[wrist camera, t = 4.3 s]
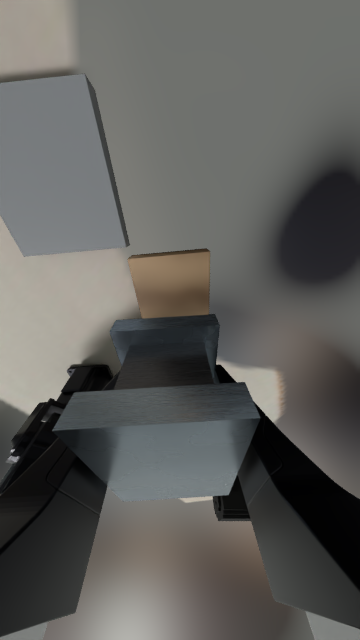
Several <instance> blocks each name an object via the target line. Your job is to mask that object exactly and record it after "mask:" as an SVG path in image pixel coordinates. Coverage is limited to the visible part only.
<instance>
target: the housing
mask: <svg viewBox="0 0 360 640" xmlns="http://www.w3.org/2000/svg"><path fill="white" fill-rule="evenodd" d="M219 326H220V325H219V322H218V320H217V318H216V315H215V314H208V315H192V316H176V317H159V318H143V319H127V320H116V321H115V323H114V325H113V327H112V328H111V330H110V335H111V338H112V340H113V343H114V346H115V349H116V352H117V354H118V357H119V360H120V363H121V366H122V368H121V371H120V373H119V376H118V379H117V382H116V385H115V387H114V390H108V391H92V392H75V393H74V394H73V396H72V397H71V399H70V401H69V402H68V404H67V406H66V408H65V409H64V411H63V413H62V414H61V416H60V418H59V420H58V421H57V423H56V425H55V427H54V428H53V430H52V431H53V432H54V433H55V434H56V435H57V436H58V437H59V438H60V439H61V440H62V441H63V442H64V443H65V444H66V445H67V446H68V447H69V448H70V449H71V450H72V451H73V452H74V453H75V454H76V455H77V456H78V457H79V458H80V459H81V460H82V461H83V462H84V463H85V464H86V465H87V466H88V467H89V468H90V469H91V470H92V471H93V472H94V473H95V474H96V475H97V476H98V477H99V478H100V479H101V480H102V481H103V482H104V483H105V484H106V485H107V486H108V487H109V488H110V489H111V490H112V491H113V492H114V493H115V494H116V495H117V496H118V497H119V498H120V499H121V500H122V501H139V500H156V499H172V498H188V497H205V496H221V495H229V493H230V490H231V488H232V486H233V483H234V481H235V478H236V476H237V473H238V471H239V469H240V466H241V464H242V461H243V459H244V457H245V454H246V452H247V449H248V447H249V445H250V442H251V440H252V437H253V435H254V433H255V430H256V428H257V425H258V423H259V421H260V416H259V413H258V411H257V409H256V407H255V404H254V402H253V400H252V397H251V395H250V393H249V391H248V388H247V386H246V384H245V382H238V383H222V384H214V375H215V369H216V359H217V348H218V338H219Z"/></svg>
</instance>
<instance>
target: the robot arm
mask: <svg viewBox="0 0 360 640" xmlns="http://www.w3.org/2000/svg"><path fill="white" fill-rule="evenodd" d="M67 373H68V374H69V375H70V378H69V380H68V381H67V383H66V384H65V386H64V387H63V389H62V390H61V392H62V393H61V395H60V396H59V398H58V399H57V401H55V400H54V399H52V398H50V399H49V400H48V402H43V403H39V404H38V405H37V407H36V408H35V409H34V411H33V412H32V413H31V415H30V416H29V417H28V419H27V420H26V421H25V423H24V424H23V426H22V427H21V428H20V430H19V431H18V432H17V434H16V435H15V436H14V438H13V439H12V440H11V443H12V450H11V451H10V453H11V455H10V456H9V457H8V459H7V461H6V462H8V463H13V464H12V465H11V467H10V468H9V470H8V471H7V473H6V474H5V476H4V477H3V479H2V480H1V482H0V640H42V639H43V636H44V633H45V630H46V626H47V623H48V622H49V621H52V620H55V619H58V618H61V617H64V616H67V615H70V614H73V613H75V612H76V608H77V605H78V601H79V597H80V593H81V589H82V585H83V581H84V577H85V573H86V569H87V565H88V561H89V557H90V553H91V549H92V545H93V542H94V538H95V534H96V529H97V526H98V522H99V518H100V513H101V509H102V505H103V501H104V498H105V494H106V490H107V485H106V484H105V483H104V482H103V481H102V480H101V479H100V478H99V477H98V476H97V475H96V474H95V473H94V472H93V471H92V470H91V469H90V468H89V467H88V466H87V465H86V464H85V463H84V462H83V461H82V460H81V459H80V458H79V457H78V456H77V455H76V454H75V453H74V452H73V451H72V450H71V449H70V448H69V447H68V446H67V445H66V444H65V443H64V442H63V441H62V440H61V439H60V438H59V437H58V436H57V435H56V434H55V433H54V432H53V431H52V430H53V428H54V427H55V425H56V423H57V421H58V420H59V418H60V416H61V414H62V413H63V411H64V409H65V408H66V406H67V404H68V402H69V401H70V399H71V397H72V396H73V394H74V393H75V392H92V391H108V390H114V387H115V385H116V382H117V379H118V376H119V373H120V371H119V372H118V373H117V374H116V375H115V377H114V378H113V376H112V374H111V372H110V369H109V367H108V366H107V365H96V366H84V367H72V368H68V370H67ZM222 383H237V382H236V381H235V380H234V379H233V378H232V377H231V376H230V375H229V374H228V372H227V371H226V370H225V369H224V368H223V367H222V366H221V365H216V369H215V375H214V384H222ZM253 402H254V401H253ZM254 404H255V407H256V409H257V411H258V413H259V416H260V421H259V423H258V425H257V428H256V430H255V433H254V435H253V437H252V440H251V442H250V445H249V447H248V449H247V452H246V454H245V457H244V459H243V461H242V464H241V466H240V469H239V471H238V473H237V474H238V477H239V480H240V484H241V487H242V491H243V494H244V498H245V501H246V505H247V506H248V507H247V508H248V512H249V515H250V519H251V522H252V525H253V529H254V532H255V536H256V539H257V542H258V546H259V550H260V553H261V556H262V560H263V563H264V567H265V570H266V574H267V577H268V581H269V584H270V587H271V591H272V594H273V597H274V600H275V601H277V602H280V603H283V604H286V605H289V606H292V607H295V608H298V609H301V610H304V611H306V614H307V617H308V620H309V623H310V626H311V629H312V632H313V635H314V638H315V640H360V499H359V498H357V497H355V496H354V495H352V494H351V493H349V492H348V491H346V490H345V489H343V488H342V487H341V486H339V485H338V484H337V483H335V482H334V481H333V480H332V479H331V478H329V477H328V476H327V475H326V474H325V473H324V472H323V471H322V470H321V469H320V468H319V467H318V466H317V465H316V464H314V463H313V462H312V461H311V460H310V459H309V458H308V457H307V456H306V455H305V454H304V453H303V452H302V451H301V450H300V449H299V448H298V447H297V446H295V445H294V444H293V443H292V442H291V441H290V440H289V439H288V438H287V437H286V436H285V435H284V434H283V433H282V432H281V431H280V430H279V429H278V428H277V427H276V425H275V424H274V423H273V422H272V421H271V420H270V419H269V418H268V417H267V416H266V415H265V413H264V412H263V411H262V410H261V409H260V408H259V407H258V406H257V405H256V403H255V402H254ZM41 420H42V421H46V422H42V421H41Z"/></svg>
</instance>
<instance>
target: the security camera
mask: <svg viewBox="0 0 360 640" xmlns="http://www.w3.org/2000/svg"><path fill="white" fill-rule="evenodd" d="M213 503H214V509H215V514H216V516H217V518H218V521H251V519H250V515H249V512H248V508H247V507H248V506H247V505H246V501H245V498H244V494H243V491H242V487H241V484H240V480H239V477H238V475H237V476H236V478H235V481H234V483H233V486H232V488H231V490H230V493H229V495H221V496H213Z"/></svg>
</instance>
